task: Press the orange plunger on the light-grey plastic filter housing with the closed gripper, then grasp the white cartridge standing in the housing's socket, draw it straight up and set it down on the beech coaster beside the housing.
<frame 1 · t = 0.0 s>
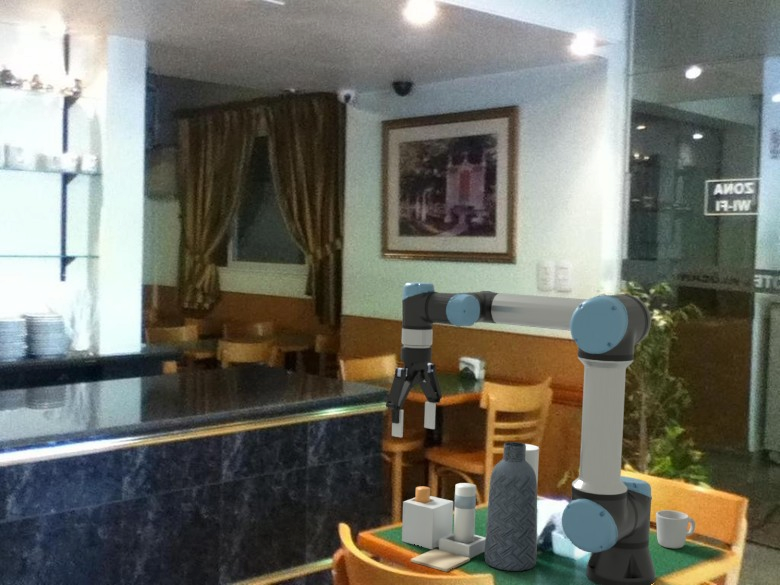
hand: (413, 432, 232), 28 cm above the table, fingers open, 13 cm apart
cup: (675, 546, 240), on the table
cylindrical container: (520, 547, 235), on the table
coaster: (440, 561, 223), on the table
housing: (436, 543, 236), on the table
cartridge: (463, 550, 231), resting in housing
plunger: (422, 500, 238), point 10 cm above the table, slide at 0.0 cm
vase: (510, 563, 223), on the table
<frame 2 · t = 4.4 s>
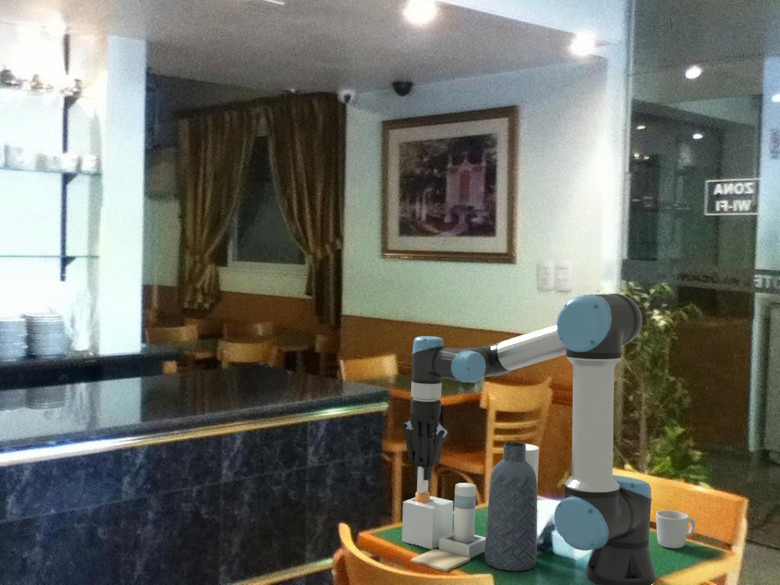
hand: (422, 491, 238), 12 cm above the table, fingers closed
plunger: (422, 504, 238), point 9 cm above the table, slide at 1.2 cm, touching gripper
everything else where it was.
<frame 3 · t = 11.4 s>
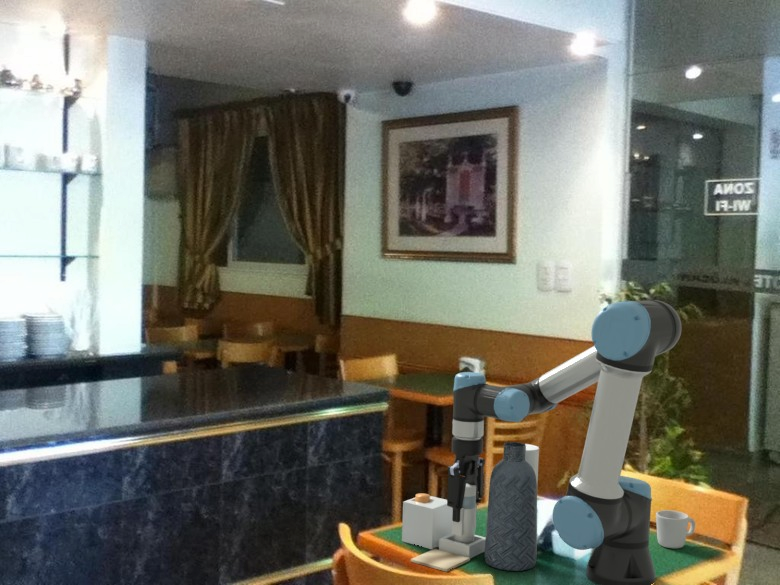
hand: (464, 531, 231), 5 cm above the table, fingers closed on cartridge, 5 cm apart
cartridge: (463, 550, 231), resting in housing, touching gripper
plunger: (422, 507, 238), point 8 cm above the table, slide at 1.8 cm
everything else where it was.
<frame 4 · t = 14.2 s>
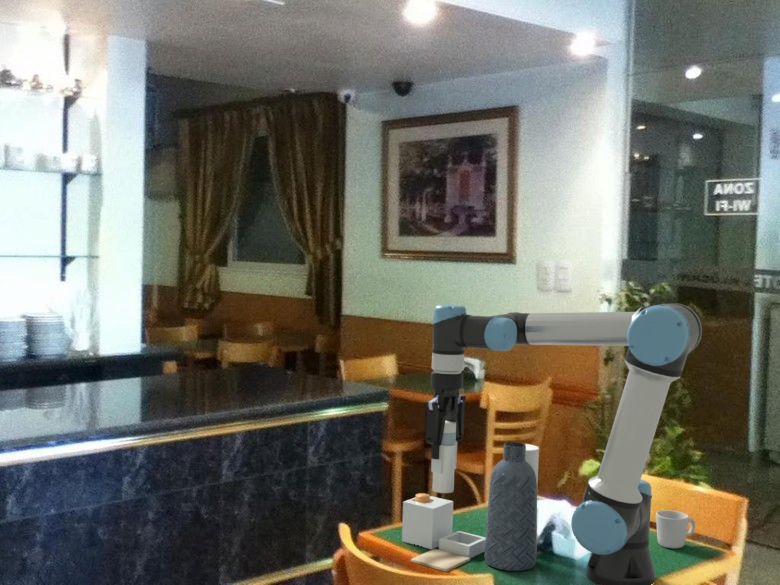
hand: (443, 470, 222), 22 cm above the table, fingers closed on cartridge, 5 cm apart
cartridge: (442, 490, 222), point 17 cm above the table, touching gripper
everything else where it was.
when the fingers open (6 cm above the table, at t = 17.3 s): cartridge stays where it is, resting on coaster.
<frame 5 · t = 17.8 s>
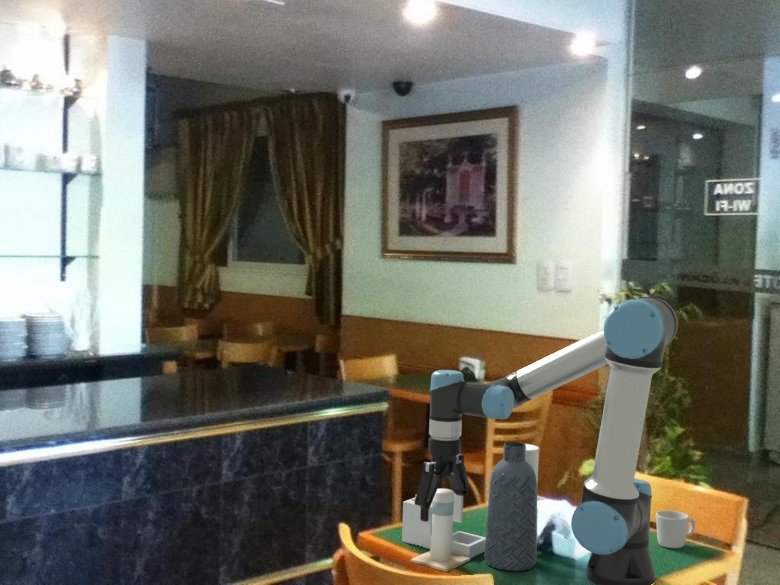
hand: (441, 527, 223), 8 cm above the table, fingers open, 12 cm apart
cartridge: (440, 558, 223), point 1 cm above the table, touching coaster
everything else where it was.
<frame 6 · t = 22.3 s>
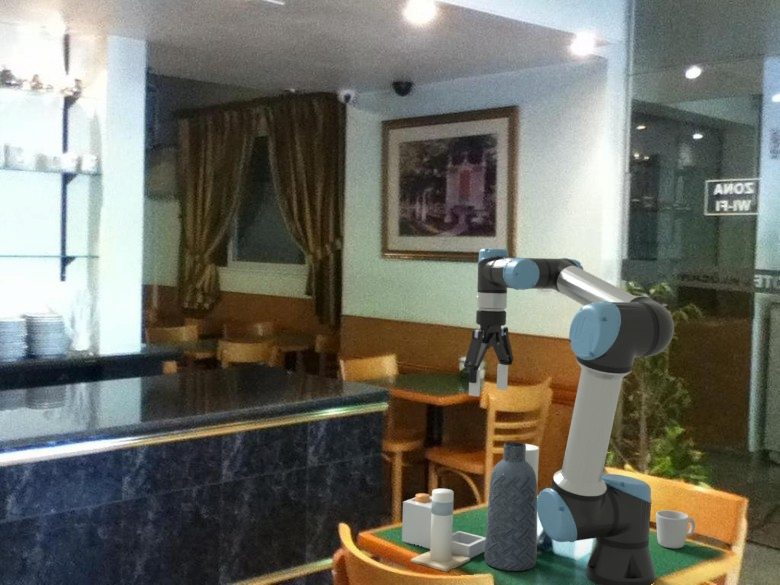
hand: (488, 392, 242), 37 cm above the table, fingers open, 13 cm apart
nothing on the table moved.
at the end: plunger slide at 1.8 cm; cartridge inside the target area on the coaster (0.0 cm from its centre), point 0.6 cm above the coaster's base; cartridge tilted 0° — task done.
